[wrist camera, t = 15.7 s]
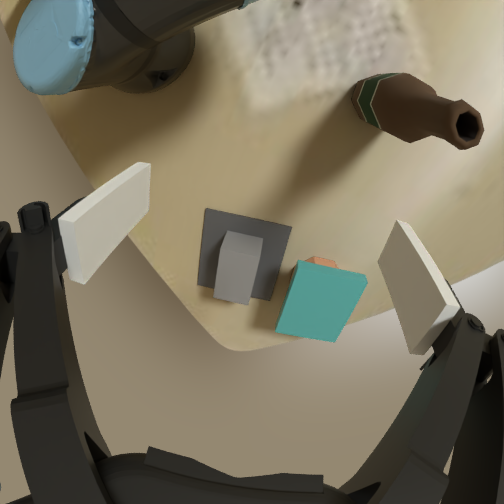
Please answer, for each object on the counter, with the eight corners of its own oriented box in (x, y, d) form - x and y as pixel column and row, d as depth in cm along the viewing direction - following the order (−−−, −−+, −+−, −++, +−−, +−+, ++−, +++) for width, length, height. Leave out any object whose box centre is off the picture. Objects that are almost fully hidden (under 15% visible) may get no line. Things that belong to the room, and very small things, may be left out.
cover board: (275, 323, 50) (275, 332, 49) (297, 259, 43) (298, 267, 41) (333, 334, 51) (334, 342, 49) (365, 274, 43) (367, 282, 41)
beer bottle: (351, 125, 37) (419, 176, 17) (348, 72, 33) (421, 63, 13) (400, 127, 36) (499, 183, 16) (399, 76, 32) (506, 85, 12)
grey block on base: (198, 283, 55) (189, 304, 50) (206, 208, 47) (196, 225, 42) (269, 299, 56) (267, 322, 50) (291, 226, 47) (291, 246, 42)
